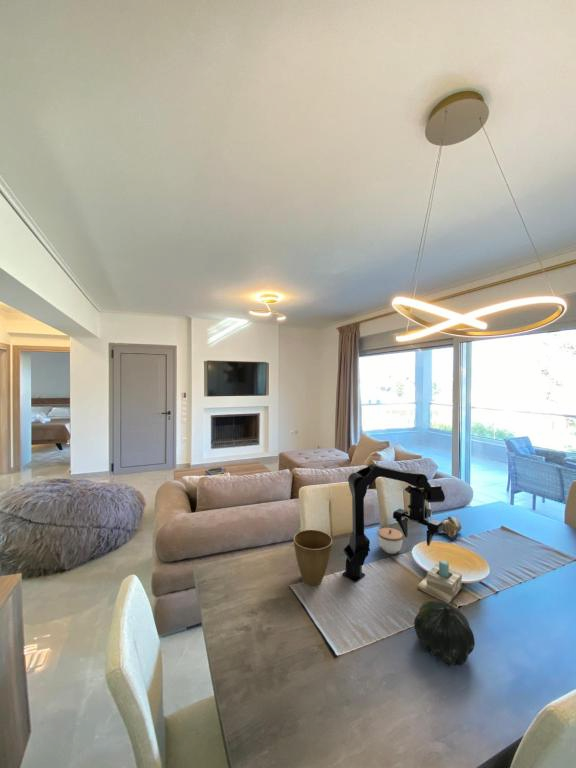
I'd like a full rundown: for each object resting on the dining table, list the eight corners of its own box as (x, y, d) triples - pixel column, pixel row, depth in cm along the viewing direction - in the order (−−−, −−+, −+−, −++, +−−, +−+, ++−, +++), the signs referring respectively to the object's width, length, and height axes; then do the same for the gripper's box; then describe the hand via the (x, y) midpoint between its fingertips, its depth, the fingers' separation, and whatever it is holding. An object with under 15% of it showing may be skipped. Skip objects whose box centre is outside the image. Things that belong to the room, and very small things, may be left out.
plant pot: (286, 585, 117) (286, 542, 117) (303, 564, 130) (303, 526, 130) (323, 597, 110) (323, 552, 110) (337, 574, 123) (337, 534, 123)
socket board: (448, 603, 107) (448, 589, 107) (417, 588, 115) (417, 574, 115) (461, 587, 116) (461, 574, 116) (431, 574, 124) (431, 561, 124)
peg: (447, 588, 114) (446, 566, 114) (437, 584, 116) (437, 563, 116) (450, 584, 116) (450, 563, 116) (441, 580, 118) (441, 559, 118)
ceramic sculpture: (467, 516, 157) (451, 525, 149) (467, 533, 157) (451, 543, 149) (446, 509, 166) (430, 518, 158) (447, 525, 166) (431, 535, 158)
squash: (426, 601, 101) (418, 582, 93) (479, 625, 91) (476, 607, 83) (414, 651, 93) (404, 635, 85) (472, 684, 83) (466, 669, 75)
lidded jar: (406, 556, 136) (406, 535, 136) (381, 556, 137) (381, 535, 137) (398, 544, 147) (398, 524, 147) (375, 543, 147) (375, 524, 147)
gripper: (449, 504, 125) (449, 543, 125) (405, 492, 139) (405, 527, 139) (437, 511, 117) (437, 553, 117) (392, 498, 131) (392, 535, 131)
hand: (417, 541), depth 126 cm, fingers open, 9 cm apart
